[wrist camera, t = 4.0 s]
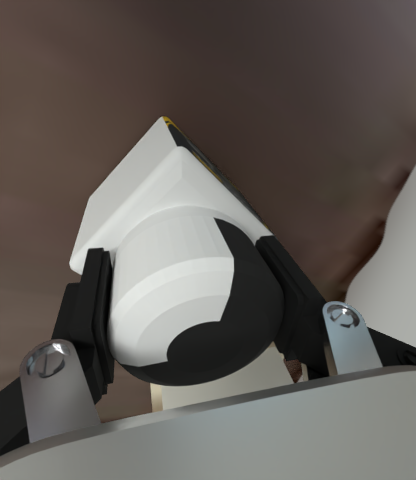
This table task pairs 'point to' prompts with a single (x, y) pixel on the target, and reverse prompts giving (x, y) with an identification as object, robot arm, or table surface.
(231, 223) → the medicine bottle
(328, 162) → the table surface
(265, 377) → the tower top block
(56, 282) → the table surface
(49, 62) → the table surface
